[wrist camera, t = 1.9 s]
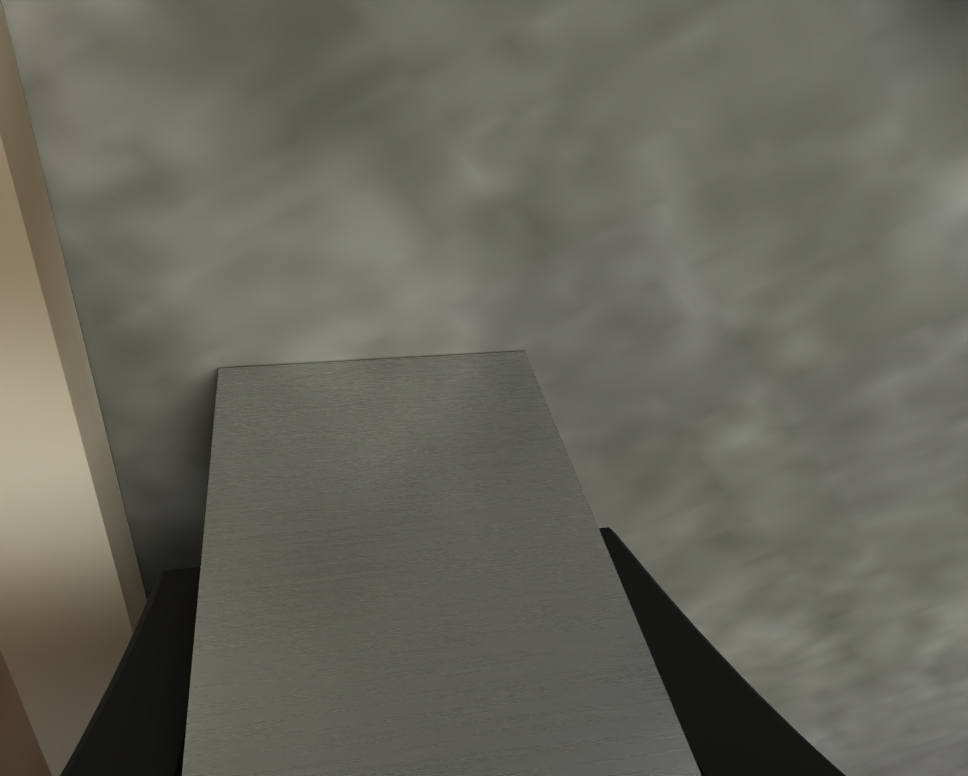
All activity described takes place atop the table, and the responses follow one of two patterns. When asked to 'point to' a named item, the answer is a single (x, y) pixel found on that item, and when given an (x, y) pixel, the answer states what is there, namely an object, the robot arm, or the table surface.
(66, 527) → the socket board
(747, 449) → the table surface
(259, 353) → the table surface
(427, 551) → the square peg
